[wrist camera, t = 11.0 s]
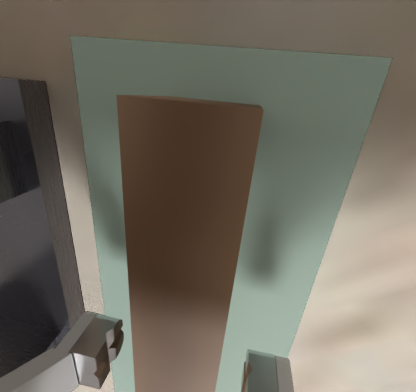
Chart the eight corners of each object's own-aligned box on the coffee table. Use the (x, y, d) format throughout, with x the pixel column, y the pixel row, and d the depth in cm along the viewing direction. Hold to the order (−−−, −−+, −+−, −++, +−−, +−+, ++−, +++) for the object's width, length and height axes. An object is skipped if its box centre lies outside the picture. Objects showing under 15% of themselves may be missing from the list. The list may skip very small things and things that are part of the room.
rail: (260, 105, 8) (263, 109, 5) (209, 408, 15) (199, 484, 12) (166, 96, 8) (116, 94, 5) (161, 395, 15) (139, 465, 12)
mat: (379, 61, 7) (392, 57, 7) (259, 419, 16) (260, 435, 15) (85, 41, 9) (70, 35, 8) (120, 381, 17) (114, 394, 16)
